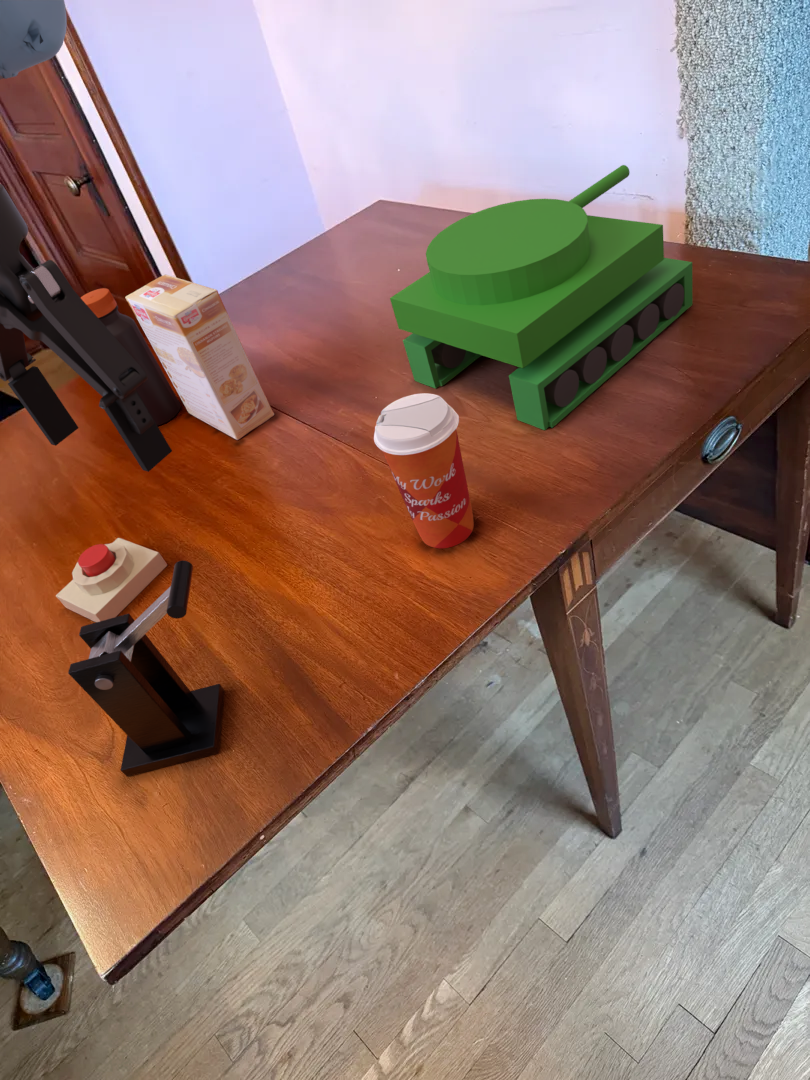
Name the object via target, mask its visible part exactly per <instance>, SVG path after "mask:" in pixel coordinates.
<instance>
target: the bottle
mask: <svg viewBox="0 0 810 1080" xmlns="http://www.w3.org/2000/svg"><path fill="white" fill-rule="evenodd" d="M80 298H81V299H82V300H83V301H84V302H85V304H86V305H87V306H88V307H89V308H90V309H91V310H92V312H93V313H94V314H95V315H96V316H97V317H98V318H99V320H100V321H101V322H102V323H103V324H104V325H105V326H106V328H107V329H108V330H109V331H110V332H111V333H112V334H113V336H114V337H115V338H116V339H117V340H118V341H119V342H120V343H121V345H122V346H123V347H124V348H125V349H126V350H127V351H128V353H129V354H130V355H131V356H132V357H133V358H134V359H135V361H136V362H137V363H138V364H139V365H140V366H141V367H142V369H143V370H144V371H145V372H146V374H147V376H148V379H147V380H146V381H145V382H143V383H142V384H141V385H140V386H138V387H137V388H136V391H137V392H138V394H139V396H140V397H141V399H142V401H143V402H144V404H145V406H146V408H147V409H148V411H149V413H150V414H151V416H152V418H153V419H154V421H155V423H156V424H157V426H158V427H159V426H161V425H164V424H165V423H168V422H169V421H171V420H173V418H175V417H176V416H177V415H178V414H179V412H180V410H181V402H180V400H179V399H178V397H177V395H176V393H175V392H174V389H173V388H172V386H171V383H170V382H169V380H168V378H167V377H166V375H165V374H164V372H163V370H162V368H161V366H160V364H159V363H158V361H157V359H156V357H155V356H154V354H153V352H152V350H151V348H150V346H149V345H148V342H147V341H146V339H145V338H144V336H143V334H142V333H141V331H140V329H139V327H138V325H137V323H136V322H135V321H136V320H134V319H133V318H132V317H131V316H128V315H126V314H123V313H120V311H119V310H118V309H119V305H118V304H117V301H116V300H115V298H114V296H113V295H112V293H111V291H110V289H109V288H106V287H102V288H98V289H94V290H92V291H89V292H87V293H85V294H84V295H82V296H80Z"/></svg>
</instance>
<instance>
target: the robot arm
mask: <svg viewBox="0 0 810 1080" xmlns="http://www.w3.org/2000/svg"><path fill="white" fill-rule="evenodd" d="M67 22H68V21H67V9H66V2H65V0H0V80H5V79H6V80H7V79H11V78H16V77H17V76H18V75H19V73H20V72H22V71H24V70H27V69H29V68H32V67H34V66H36V65H37V66H38V65H39V64H41V63H44V62H46V61H49V60H51V59H53V58H54V57H55V56H56V55H57V54H58V53H59V52H60V50H61V48H62V47H63V44H64V41H65V37H66V34H67V25H68V24H67ZM28 234H29V226H28V224H27V223H26V221H25V220H24V218H23V216H22V214H21V212H20V211H19V209H18V208H17V206H16V204H15V203H14V201H13V199H12V198H11V196H10V194H9V193H8V191H7V190H6V188H5V186H4V185H3V184H1V183H0V380H2V381H3V382H8V383H7V385H8V386H9V388H10V390H12V392H13V393H14V395H15V397H16V398H17V399H18V400H19V401H20V403H21V405H22V406H23V407H24V409H25V410H26V411H27V413H28V414H29V415H30V417H31V418H32V420H33V421H34V423H35V424H36V425H37V426H38V428H39V429H40V431H41V432H42V434H43V435H44V436H45V438H46V439H47V440H48V442H49V443H50V445H52V446H55V447H56V446H58V445H59V444H60V443H62V442H63V441H64V440H65V439H67V438H68V437H70V435H72V434H73V433H75V432H76V431H77V430H78V429H79V428H80V427H79V426H78V424H77V423H76V421H75V420H74V419H73V417H72V415H71V414H70V412H69V411H68V410H67V408H66V407H65V406H64V404H63V402H62V400H60V398H59V396H58V395H57V393H56V392H55V390H54V389H53V387H52V386H51V385H50V383H49V381H48V380H47V378H46V377H45V375H44V374H43V372H42V371H41V370H40V368H39V367H38V366H36V365H35V366H34V365H32V366H31V367H29V366H30V365H31V364H33V363H35V362H36V360H37V359H36V358H34V357H33V356H32V355H31V354H30V353H29V352H27V346H26V341H25V336H26V337H27V338H28V339H30V340H32V341H40V342H42V343H43V344H44V345H46V346H47V347H48V348H49V350H51V351H52V352H53V353H54V354H55V355H56V356H57V357H58V358H60V359H61V360H62V361H63V363H65V364H66V365H67V366H69V368H70V369H72V370H73V371H74V372H75V373H76V374H77V375H78V376H79V377H81V378H82V380H84V381H85V382H86V383H87V384H88V385H89V386H90V387H91V388H92V389H93V390H95V391H96V392H97V393H98V394H99V396H101V398H100V400H99V403H98V408H101V409H102V410H104V412H105V413H106V414H107V416H108V418H109V419H110V421H111V422H112V424H113V426H114V428H116V431H117V432H118V433H119V435H120V436H121V438H122V440H123V442H124V443H125V445H126V446H127V448H128V449H129V451H130V452H131V454H132V456H133V457H134V459H135V460H136V461H137V464H138V465H139V466H140V468H141V470H142V471H145V472H148V473H149V472H150V471H151V470H152V469H154V468H155V467H156V466H157V465H159V464H160V462H162V461H163V460H164V459H165V458H167V456H168V455H170V454H171V453H172V452H173V449H172V448H171V446H170V445H169V443H168V441H167V439H166V438H165V436H164V435H163V433H162V431H161V430H160V427H159V425H158V426H157V424H156V423H155V421H154V419H153V418H152V416H151V414H150V413H149V411H148V409H147V408H146V406H145V404H144V402H143V401H142V399H141V397H140V396H139V394H138V392H137V391H136V388H137V387H138V386H140V385H141V384H142V383H143V382H145V381H146V380H147V379H148V376H147V374H146V372H145V371H144V370H143V369H142V367H141V366H140V365H139V364H138V363H137V362H136V361H135V359H134V358H133V357H132V356H131V355H130V354H129V353H128V351H127V350H126V349H125V348H124V347H123V346H122V345H121V343H120V342H119V341H118V340H117V339H116V338H115V337H114V336H113V334H112V333H111V332H110V331H109V330H108V329H107V328H106V326H105V325H104V324H103V323H102V322H101V321H100V320H99V318H98V317H97V316H96V315H95V314H94V313H93V312H92V310H91V309H90V308H89V307H88V306H87V305H86V304H85V302H84V301H83V300H82V299H81V296H79V294H78V293H77V292H76V291H75V289H74V288H73V286H72V285H71V284H70V282H69V281H68V279H67V278H66V276H65V274H64V273H63V271H62V270H61V269H60V267H59V265H58V264H57V263H56V262H55V261H53V260H51V259H48V260H46V261H44V262H43V263H41V264H40V265H38V266H36V267H33V266H32V265H31V264H30V263H29V261H28V260H27V259H26V258H25V257H24V256H23V254H22V253H21V251H20V246H21V243H22V242H24V241H25V239H26V238H27V236H28ZM24 335H25V336H24ZM28 367H29V368H28ZM27 368H28V369H27Z"/></svg>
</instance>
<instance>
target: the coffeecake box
mask: <svg viewBox="0 0 810 1080" xmlns="http://www.w3.org/2000/svg"><path fill="white" fill-rule="evenodd" d="M125 300H126V302H127V303H128V306H129V307H130V309H131V311H132V312H133V314H134V316H135V318H136V320H137V321H138V323H139V326H140V327H141V329H142V331H143V333H144V334H145V336H146V338H147V340H148V342H149V343H150V345H151V347H152V349H153V351H154V353H155V355H156V357H157V358H158V360H159V362H160V363H161V365H162V368H163V369H164V371H165V373H166V374H167V376H168V378H169V380H170V382H171V384H172V385H173V387H174V389H175V390H176V392H177V394H178V397H179V399H180V400H181V402H182V404H183V405H184V407H185V409H186V411H187V413H188V414H189V415H191V416H193V417H194V418H197V419H198V420H200V421H202V422H204V423H206V424H208V425H209V426H210V427H212V428H215V429H216V430H217V431H220V432H222V433H223V434H225V435H227V436H229V437H231V438H232V439H234V440H236V441H238V440H239V441H240V439H242V438H243V437H244V436H246V435H247V434H249V433H250V432H251V431H253V430H254V429H256V428H258V427H260V426H261V425H262V424H264V423H266V422H267V421H268V420H270V419H271V418H272V417H274V416H275V413H274V411H273V410H272V407H271V405H270V403H269V400H268V398H267V397H266V394H265V392H264V390H263V388H262V385H261V383H260V381H259V379H258V377H257V374H256V372H255V369H254V368H253V365H252V364H251V362H250V359H249V357H248V355H247V353H246V350H245V348H244V346H243V344H242V341H241V339H240V337H239V335H238V333H237V330H236V328H235V326H234V323H233V322H232V320H231V318H230V316H229V314H228V311H227V308H226V306H225V305H224V302H223V300H222V298H221V296H220V293H219V291H218V289H215V288H212V287H208V286H207V285H202V284H198V283H195V282H192V281H189V280H186V279H183V278H182V279H181V278H179V277H175V276H173V275H169V274H163V275H162V276H161V275H160V276H158V277H157V278H156V279H153V280H152V281H150V282H148V283H146V284H145V285H143V286H141V287H140V288H138V289H136V290H135V291H133V292H131V293H129V294H128V295H126V296H125Z"/></svg>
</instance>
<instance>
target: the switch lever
mask: <svg viewBox="0 0 810 1080" xmlns="http://www.w3.org/2000/svg"><path fill="white" fill-rule="evenodd" d="M193 570H194V566H193V564H192V563H191V562H190V561H188V560H184V559H183V560H178V561H176V563H174V566H173V571H172V576H171V583H170V586H169V587H168V588H167V589H166V590H164V592H163V593H162V594H160V595H159V597H158V598H156V600H155V601H153V603H151V604H150V605H149V606H148V607H147V608H146V609H145V610H144V611H143V612H142V613H141V614H140V615H139V616H138V617H137V618H136V619H134V620H135V621H134V622H133V623H132V624H131V625H130V626H129V627H128V628H127V629H126V630H125V631H124V632H123V633H122V634H121V635H120V636H119V635H117V634H114V633H112V632H110V631H109V632H108V633H107V634H106V635H105V636H103V637H102V638H101V639H100V640H99V641H98V642H97V643H96V644H95V645H94V646H93V647H92V648H90V652H89V655H88V659H90V658H94V657H98V656H101V655H105V654H109V653H112V652H116V651H120V650H121V651H122V652H123V653H124V655H125V656H126V657H127V658H128V659H129V661H130V662H131V658H132V653H133V648H134V644H135V643H136V642H137V641H138V640H139V639H140V638H142V637H143V636H144V635H145V634H146V635H147V633H148V632H149V631H150V630H151V629H152V628H153V627H154V626H156V625H157V624H158V623H159V622H160V621H161V620H162V619H163V618H164V617H165V616H166V615H167V616H169V617H170V618H172V619H183V618H184V617H185V616H186V615H187V613H188V612H187V611H188V604H189V598H190V591H191V585H192V579H193V572H194V571H193Z"/></svg>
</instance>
